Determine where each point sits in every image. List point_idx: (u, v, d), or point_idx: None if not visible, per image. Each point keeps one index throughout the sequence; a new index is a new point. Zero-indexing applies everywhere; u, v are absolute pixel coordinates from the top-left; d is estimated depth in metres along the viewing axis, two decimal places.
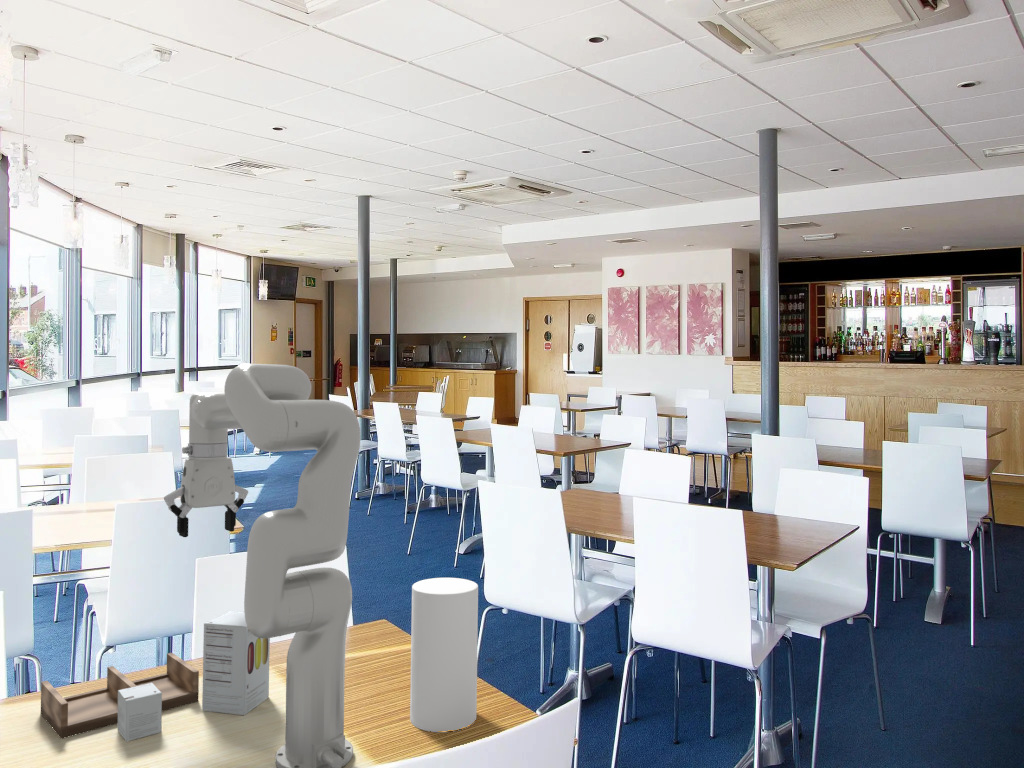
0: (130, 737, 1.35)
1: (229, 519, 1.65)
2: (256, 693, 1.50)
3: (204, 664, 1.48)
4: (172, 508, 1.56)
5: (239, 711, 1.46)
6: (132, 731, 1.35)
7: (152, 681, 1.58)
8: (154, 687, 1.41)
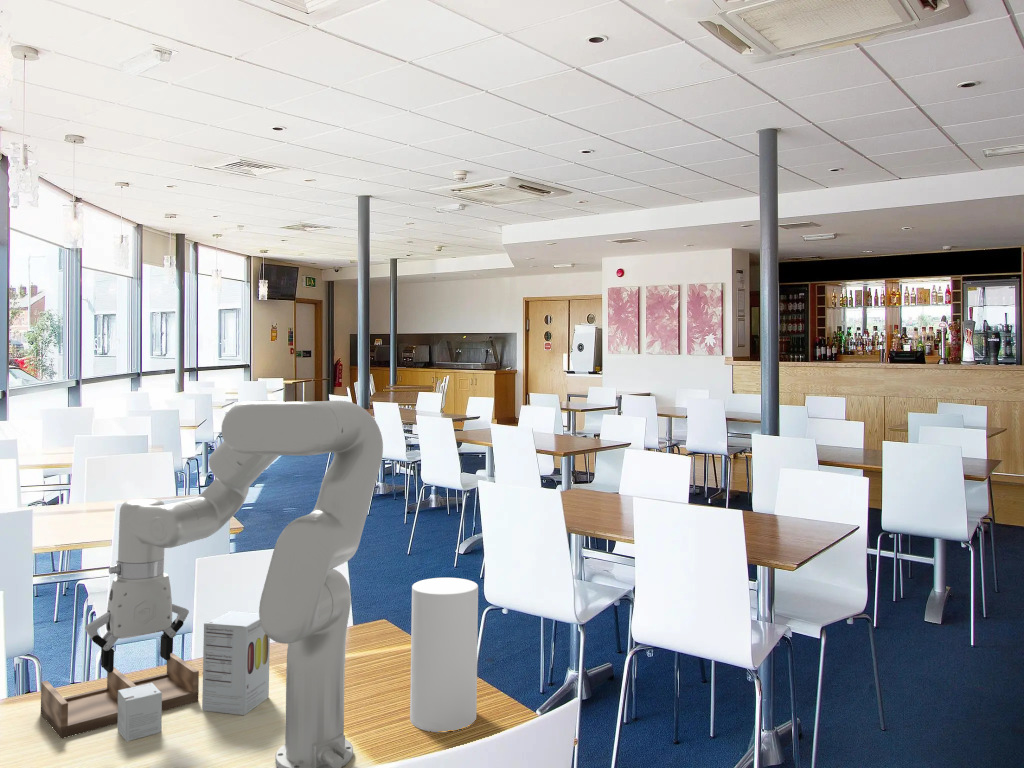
0: (130, 737, 1.35)
1: (165, 646, 1.41)
2: (256, 693, 1.50)
3: (204, 664, 1.48)
4: (94, 640, 1.33)
5: (239, 711, 1.46)
6: (132, 731, 1.35)
7: (152, 681, 1.58)
8: (154, 687, 1.41)
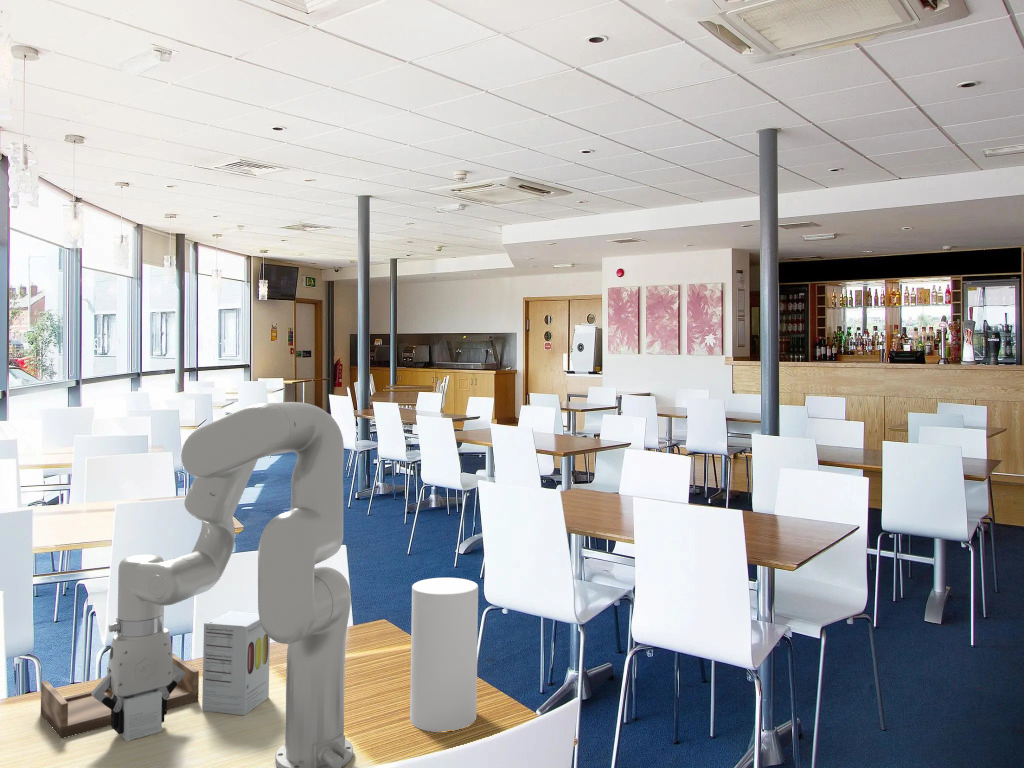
0: (130, 737, 1.35)
1: None
2: (256, 693, 1.50)
3: (204, 664, 1.48)
4: (104, 702, 1.34)
5: (239, 711, 1.46)
6: (132, 731, 1.35)
7: None
8: None
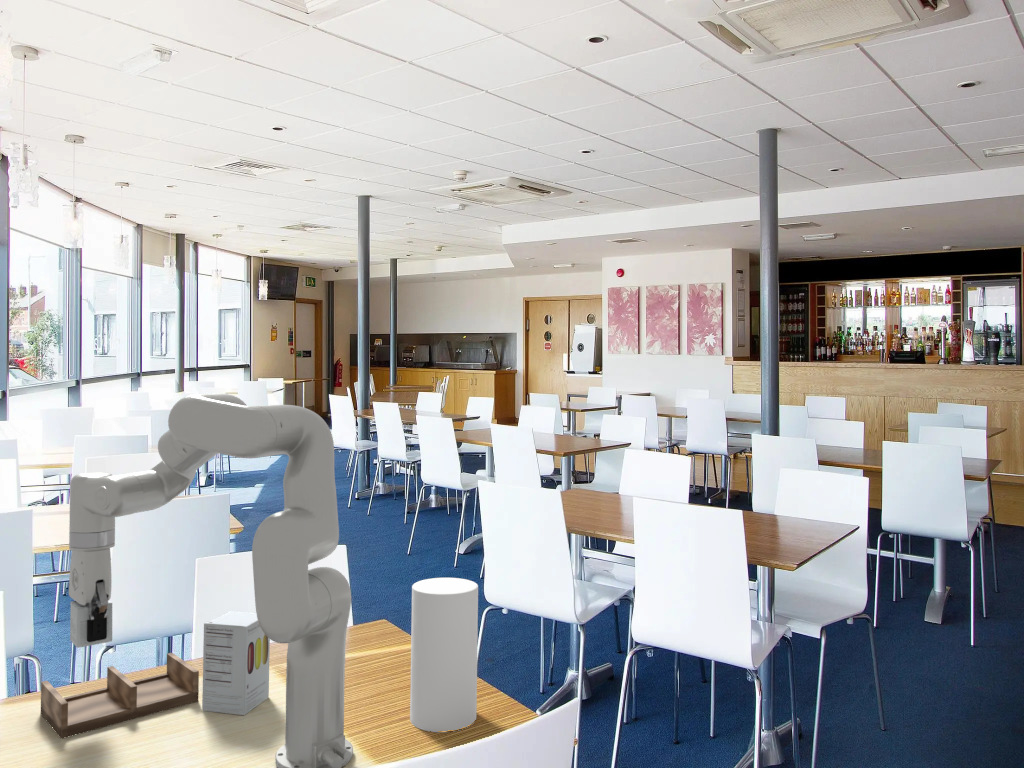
0: (70, 637, 1.44)
1: None
2: (256, 693, 1.50)
3: (204, 664, 1.48)
4: None
5: (239, 711, 1.46)
6: (70, 632, 1.44)
7: (152, 681, 1.58)
8: None
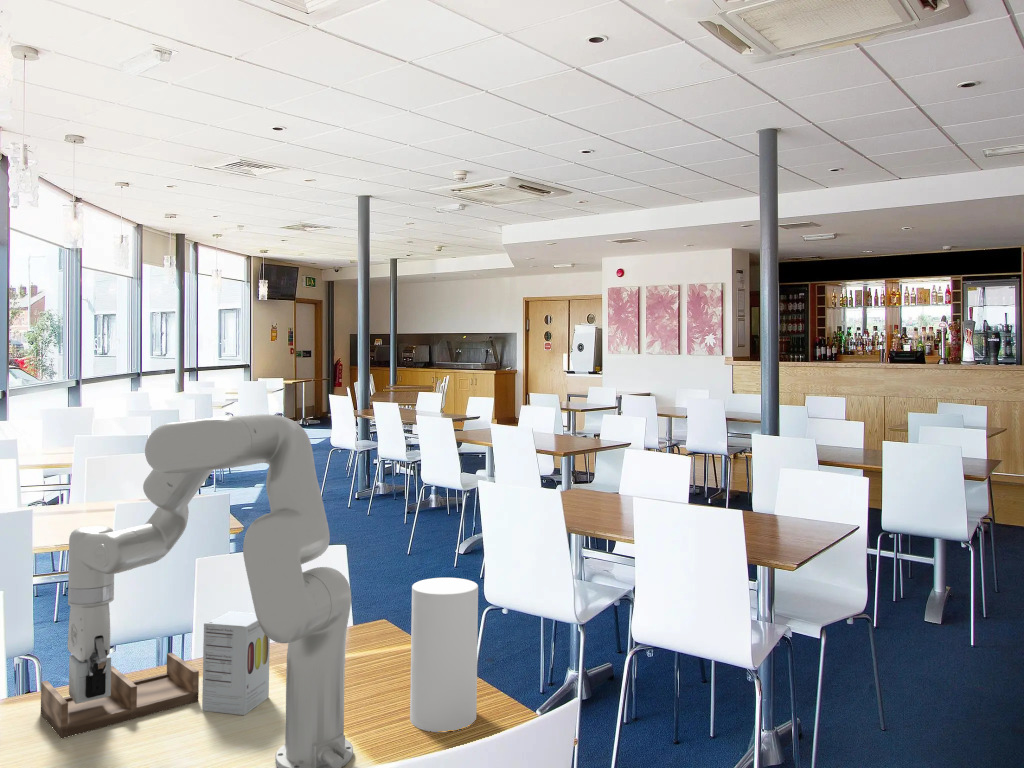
0: (69, 692, 1.44)
1: None
2: (256, 693, 1.50)
3: (204, 664, 1.48)
4: None
5: (239, 711, 1.46)
6: (69, 687, 1.44)
7: (152, 681, 1.58)
8: None
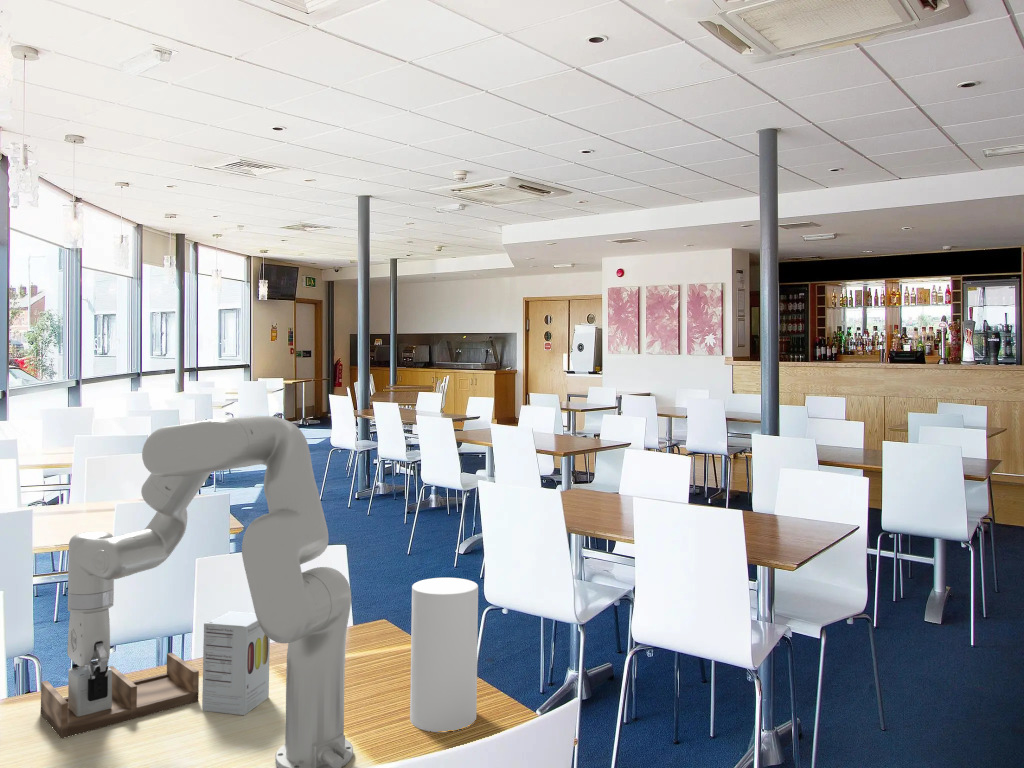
0: (68, 705, 1.44)
1: None
2: (256, 693, 1.50)
3: (204, 664, 1.48)
4: None
5: (239, 711, 1.46)
6: (69, 700, 1.44)
7: (152, 681, 1.58)
8: None
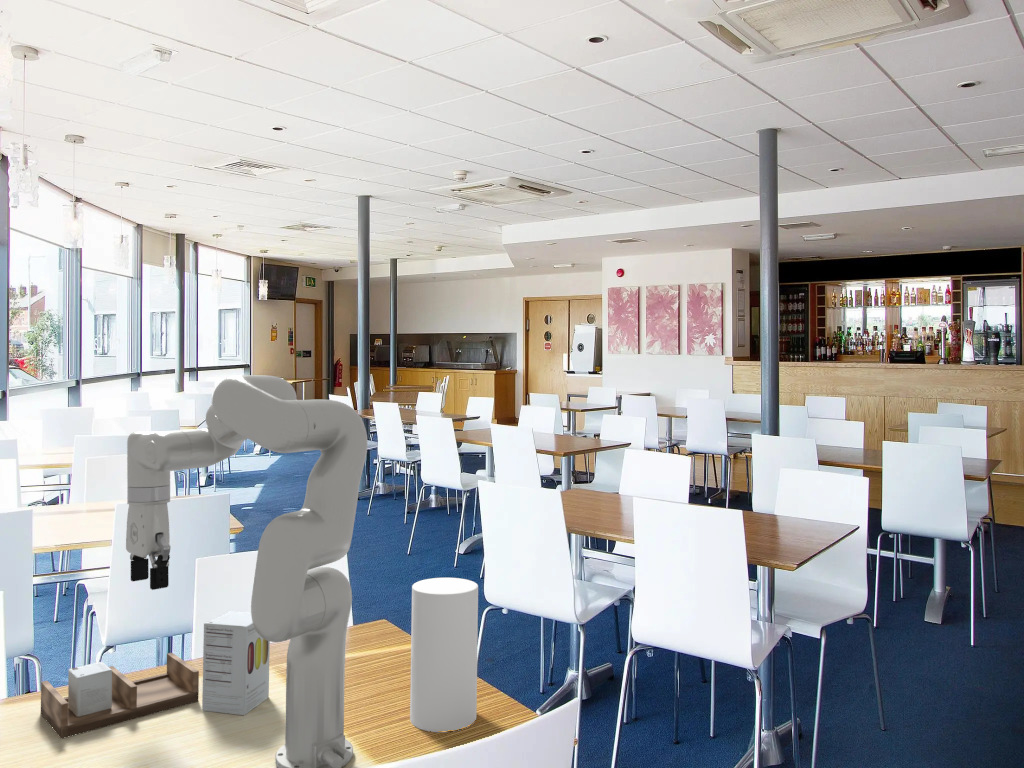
0: (68, 705, 1.44)
1: None
2: (256, 693, 1.50)
3: (204, 664, 1.48)
4: None
5: (239, 711, 1.46)
6: (69, 700, 1.44)
7: (152, 681, 1.58)
8: (95, 672, 1.43)
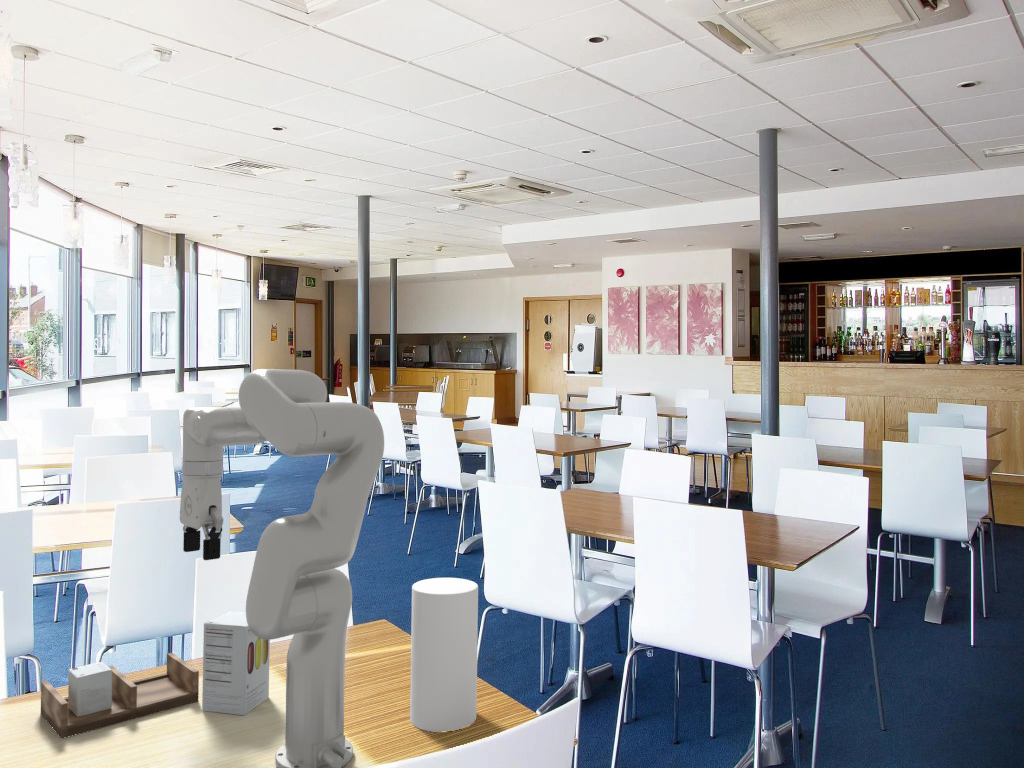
0: (68, 705, 1.44)
1: None
2: (256, 693, 1.50)
3: (204, 664, 1.48)
4: None
5: (239, 711, 1.46)
6: (69, 700, 1.44)
7: (152, 681, 1.58)
8: (95, 672, 1.43)
